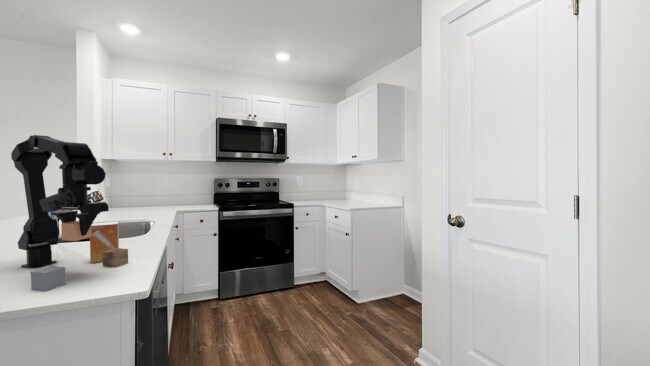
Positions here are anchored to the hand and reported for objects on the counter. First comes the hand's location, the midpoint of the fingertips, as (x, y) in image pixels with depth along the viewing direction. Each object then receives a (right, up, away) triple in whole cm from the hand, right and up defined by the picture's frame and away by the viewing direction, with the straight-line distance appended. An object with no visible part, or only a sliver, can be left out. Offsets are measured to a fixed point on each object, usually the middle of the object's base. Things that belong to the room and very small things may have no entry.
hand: (76, 235), depth 92 cm
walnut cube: (+5, -12, +10) cm, 16 cm away
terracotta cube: (0, -1, 0) cm, 1 cm away
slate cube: (+1, -13, -10) cm, 16 cm away
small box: (-3, -12, +16) cm, 20 cm away
